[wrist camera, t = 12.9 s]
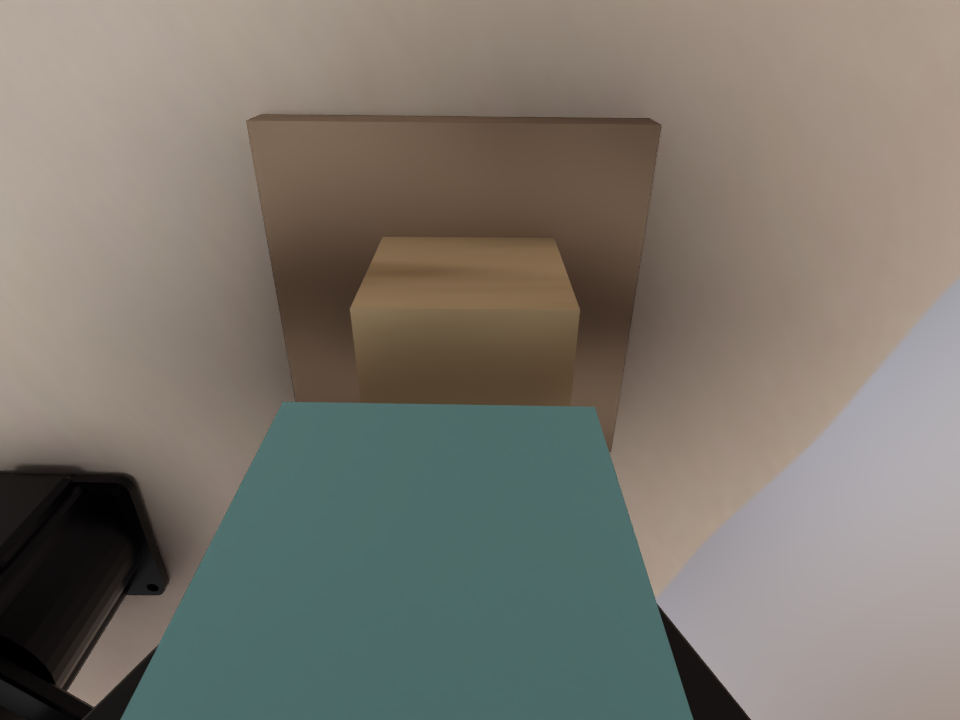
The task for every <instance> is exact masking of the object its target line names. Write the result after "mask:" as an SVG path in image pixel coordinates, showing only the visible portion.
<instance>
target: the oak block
mask: <svg viewBox="0 0 960 720" xmlns="http://www.w3.org/2000/svg"><path fill="white" fill-rule="evenodd" d="M350 314H351V322H352V331H353V340H354V349H355V358H356V366H357V375H358V384H359V393H360V402H361V403H391V404H454V405H517V406H570V405H571V395H572V385H573V375H574V365H575V355H576V345H577V335H578V325H579V315H580V308H579V305H578V303H577V300H576V297H575V294H574V291H573V289H572V286H571V283H570V280H569V277H568V275H567V272H566V269H565V266H564V263H563V261H562V258H561V255H560V252H559V250H558V247H557V244H556V241H555V238H507V237H382V240H381V242H380V244H379V246H378V248H377V251H376V253H375V255H374V257H373V259H372V261H371V264H370V266H369V268H368V270H367V272H366V275H365V277H364V279H363V281H362V283H361V285H360V288H359V290H358V292H357V294H356V296H355V299H354V301H353V303H352V305H351V307H350Z"/></svg>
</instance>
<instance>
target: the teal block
mask: <svg viewBox="0 0 960 720" xmlns="http://www.w3.org/2000/svg"><path fill="white" fill-rule="evenodd" d="M121 720H693V717H692V714H691V711H690V708H689V705H688V701H687V698H686V695H685V692H684V689H683V685H682V682H681V679H680V676H679V673H678V670H677V666H676V663H675V660H674V657H673V654H672V651H671V647H670V644H669V641H668V638H667V635H666V631H665V628H664V625H663V622H662V619H661V616H660V612H659V609H658V606H657V603H656V600H655V597H654V593H653V590H652V587H651V584H650V581H649V577H648V574H647V571H646V568H645V565H644V562H643V558H642V555H641V552H640V549H639V546H638V543H637V539H636V536H635V533H634V530H633V527H632V524H631V520H630V517H629V514H628V511H627V508H626V504H625V501H624V498H623V495H622V492H621V489H620V485H619V482H618V479H617V476H616V473H615V470H614V466H613V463H612V460H611V457H610V454H609V450H608V447H607V444H606V441H605V438H604V435H603V431H602V428H601V425H600V422H599V419H598V416H597V412H596V409H595V407H580V406H517V405H454V404H391V403H328V402H283V403H282V405H281V407H280V409H279V411H278V413H277V415H276V417H275V418H274V420H273V422H272V424H271V426H270V428H269V430H268V432H267V434H266V436H265V438H264V440H263V442H262V444H261V446H260V448H259V450H258V452H257V454H256V456H255V458H254V460H253V461H252V463H251V465H250V467H249V469H248V471H247V473H246V475H245V477H244V479H243V481H242V483H241V485H240V487H239V489H238V491H237V493H236V495H235V497H234V499H233V501H232V503H231V505H230V506H229V508H228V510H227V512H226V514H225V516H224V518H223V520H222V522H221V524H220V526H219V528H218V530H217V532H216V534H215V536H214V538H213V540H212V542H211V544H210V546H209V548H208V549H207V551H206V553H205V555H204V557H203V559H202V561H201V563H200V565H199V567H198V569H197V571H196V573H195V575H194V577H193V579H192V581H191V583H190V585H189V587H188V589H187V591H186V593H185V594H184V596H183V598H182V600H181V602H180V604H179V606H178V608H177V610H176V612H175V614H174V616H173V618H172V620H171V622H170V624H169V626H168V628H167V630H166V632H165V634H164V636H163V637H162V639H161V641H160V643H159V645H158V647H157V649H156V651H155V653H154V655H153V657H152V659H151V661H150V663H149V665H148V667H147V669H146V671H145V673H144V675H143V677H142V679H141V681H140V682H139V684H138V686H137V688H136V690H135V692H134V694H133V696H132V698H131V700H130V702H129V704H128V706H127V708H126V710H125V712H124V714H123V716H122V718H121Z"/></svg>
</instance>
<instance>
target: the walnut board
mask: <svg viewBox="0 0 960 720" xmlns="http://www.w3.org/2000/svg"><path fill="white" fill-rule="evenodd" d="M246 122H247V128H248V134H249V139H250V145H251V151H252V156H253V162H254V168H255V174H256V179H257V185H258V191H259V196H260V202H261V208H262V213H263V219H264V225H265V230H266V236H267V242H268V247H269V253H270V259H271V264H272V270H273V276H274V281H275V287H276V293H277V298H278V304H279V310H280V315H281V321H282V327H283V332H284V338H285V344H286V350H287V355H288V361H289V367H290V372H291V378H292V384H293V389H294V395H295V401H296V402H328V403H361V402H360V393H359V384H358V375H357V366H356V358H355V349H354V340H353V331H352V322H351V314H350V307H351V305H352V303H353V301H354V299H355V296H356V294H357V292H358V290H359V288H360V285H361V283H362V281H363V279H364V277H365V275H366V272H367V270H368V268H369V266H370V264H371V261H372V259H373V257H374V255H375V253H376V251H377V248H378V246H379V244H380V242H381V240H382V237H507V238H555V241H556V244H557V247H558V250H559V252H560V255H561V258H562V261H563V263H564V266H565V269H566V272H567V275H568V277H569V280H570V283H571V286H572V289H573V291H574V294H575V297H576V300H577V303H578V305H579V308H580V315H579V325H578V335H577V345H576V355H575V365H574V375H573V385H572V395H571V405H570V406H580V407H595V409H596V412H597V416H598V419H599V422H600V425H601V428H602V431H603V435H604V438H605V441H606V444H607V447H608V450H609V452H611V449H612V442H613V436H614V429H615V423H616V416H617V410H618V403H619V397H620V390H621V384H622V377H623V371H624V364H625V358H626V351H627V345H628V338H629V332H630V325H631V319H632V312H633V306H634V299H635V293H636V286H637V280H638V273H639V267H640V260H641V254H642V247H643V241H644V234H645V228H646V222H647V215H648V209H649V202H650V196H651V189H652V183H653V176H654V170H655V163H656V157H657V150H658V144H659V137H660V131H661V124H659V123H657V122H655V121H653V120H651V119H650V118H566V117H470V116H374V115H278V114H261V115H259V116H256V117H254V118H251V119H249V120H246Z"/></svg>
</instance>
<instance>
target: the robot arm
mask: <svg viewBox="0 0 960 720" xmlns="http://www.w3.org/2000/svg"><path fill="white" fill-rule="evenodd" d="M118 488H119V489H118ZM120 489H121V490H120ZM168 583H169V581H168V578H167V575H166V572H165V569H164V566H163V563H162V561H161V558H160V555H159V552H158V549H157V547H156V544H155V541H154V538H153V535H152V532H151V530H150V527H149V524H148V521H147V518H146V516H145V513H144V510H143V507H142V504H141V502H140V499H139V496H138V493H137V490H136V487H135V485H134V483H133V482H132V481H131V480H130V479H128V478H126V477H124V476H115V475H51V474H0V720H121V718H122V716H123V714H124V712H125V710H126V708H127V706H128V704H129V702H130V700H131V698H132V696H133V694H134V692H135V690H136V688H137V686H138V684H139V682H140V681H141V679H142V677H143V675H144V673H145V671H146V669H147V667H148V665H149V663H150V661H151V659H152V657H153V655H154V653H155V651H156V649H157V647H158V646H157V647H156V648H155V649H154V650H152V651H151V652H150V653H149V654H148V655H147V656H146V657H145V658H144V659H143V660H142V661H141V662H140V663H139V664H138V665H137V666H136V667H135V668H134V669H133V670H132V671H131V672H130V673H129V674H128V675H127V676H126V677H125V678H124V679H123V680H122V681H121V682H120V683H119V684H118V685H117V686H116V687H115V688H114V689H113V690H112V691H111V692H110V693H109V694H108V695H107V696H106V697H105V698H104V699H103V700H102V701H101V702H100V703H98V704H97V705H96V706H95V707H93V706H91V705H89V704H88V703H86V702H84V701H82V700H81V699H79V698H77V697H75V696H74V695H72V694H70V693H68V692H67V690H68V689H69V687H70V685H71V684H72V682H73V681H74V679H75V677H76V676H77V674H78V672H79V671H80V669H81V668H82V666H83V664H84V663H85V661H86V659H87V658H88V656H89V655H90V653H91V651H92V650H93V648H94V646H95V645H96V643H97V642H98V640H99V638H100V637H101V635H102V633H103V632H104V630H105V629H106V627H107V625H108V624H109V622H110V620H111V619H112V617H113V616H114V614H115V612H116V611H117V609H118V607H119V606H120V604H121V603H122V601H123V599H124V598H125V596H126V595H160V594H162V593H163V592H164V591H165V589H166V587H167V585H168ZM657 606H658V604H657ZM658 609H659V612H660V616H661V619H662V622H663V625H664V628H665V631H666V635H667V638H668V641H669V644H670V647H671V651H672V654H673V657H674V660H675V663H676V666H677V670H678V673H679V676H680V679H681V682H682V685H683V689H684V692H685V695H686V698H687V701H688V705H689V708H690V711H691V714H692V717H693V720H751V719H750V718H749V717H748V716H747V714H746V713H745V712H744V710H743V709H742V708H741V707H740V706H739V704H738V703H737V702H736V701H735V700H734V698H733V697H732V696H731V694H730V693H729V692H728V691H727V689H726V688H725V687H724V686H723V684H722V683H721V682H720V681H719V680H718V678H717V677H716V676H715V675H714V673H713V672H712V671H711V670H710V668H709V667H708V666H707V665H706V663H705V662H704V661H703V660H702V659H701V658H700V656H699V655H698V654H697V652H696V651H695V650H694V649H693V647H692V646H691V645H690V644H689V643H688V641H687V640H686V639H685V638H684V636H683V635H682V634H681V633H680V631H679V630H678V629H677V628H676V627H675V625H674V624H673V623H672V621H671V620H670V619H669V618H668V617H667V615H666V614H665V613H664V612H663V610H662V609H661V608H660V607H659V606H658Z"/></svg>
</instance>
